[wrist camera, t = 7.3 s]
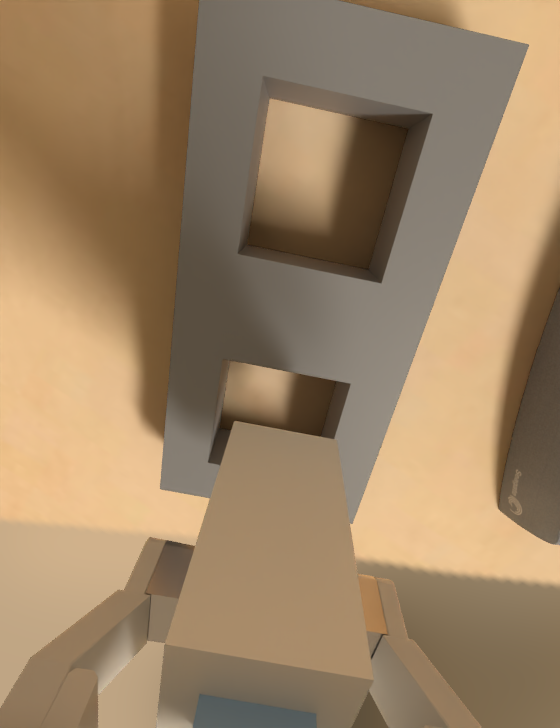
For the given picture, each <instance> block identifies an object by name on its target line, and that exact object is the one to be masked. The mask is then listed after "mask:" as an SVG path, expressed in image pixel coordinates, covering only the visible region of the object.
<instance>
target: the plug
mask: <svg viewBox="0 0 560 728" xmlns="http://www.w3.org/2000/svg"><path fill="white" fill-rule="evenodd" d="M373 681H374V678H373V671H372V665H371V658H370V652H369V645H368V639H367V632H366V626H365V619H364V613H363V606H362V600H361V593H360V587H359V580H358V574H357V567H356V561H355V554H354V548H353V541H352V535H351V528H350V522H349V515H348V508H347V502H346V495H345V489H344V482H343V476H342V469H341V463H340V456H339V450H338V443H337V440H335V439H330V438H324V437H319V436H314V435H308V434H303V433H298V432H292V431H287V430H282V429H276V428H271V427H265V426H260V425H255V424H249V423H244V422H239V421H234V423H233V426H232V430H231V433H230V436H229V439H228V443H227V446H226V449H225V452H224V455H223V459H222V462H221V465H220V468H219V471H218V475H217V478H216V481H215V484H214V487H213V491H212V494H211V497H210V500H209V504H208V507H207V510H206V513H205V516H204V520H203V523H202V526H201V529H200V532H199V536H198V539H197V542H196V545H195V548H194V552H193V555H192V558H191V561H190V565H189V568H188V571H187V574H186V577H185V581H184V584H183V587H182V590H181V593H180V597H179V600H178V603H177V606H176V609H175V613H174V616H173V619H172V622H171V626H170V629H169V632H168V635H167V638H166V642H165V646H164V656H163V665H162V675H161V685H160V694H159V704H158V713H157V723H156V728H351V727H352V725H353V723H354V721H355V719H356V717H357V715H358V712H359V710H360V708H361V706H362V704H363V702H364V700H365V698H366V696H367V693H368V691H369V689H370V687H371V685H372V683H373Z"/></svg>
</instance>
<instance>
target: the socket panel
mask: <svg viewBox="0 0 560 728" xmlns="http://www.w3.org/2000/svg"><path fill="white" fill-rule="evenodd" d="M528 47H529V44H524V43H520V42H516V41H511V40H507V39H503V38H499V37H494V36H490V35H486V34H481V33H477V32H473V31H468V30H464V29H460V28H455V27H451V26H447V25H443V24H438V23H434V22H430V21H425V20H421V19H417V18H412V17H408V16H404V15H399V14H395V13H391V12H386V11H382V10H378V9H374V8H369V7H365V6H361V5H356V4H352V3H348V2H343V1H339V0H199V8H198V21H197V33H196V46H195V58H194V71H193V83H192V96H191V108H190V121H189V133H188V146H187V158H186V171H185V183H184V196H183V208H182V221H181V233H180V246H179V258H178V271H177V283H176V296H175V308H174V321H173V333H172V346H171V358H170V371H169V383H168V396H167V408H166V421H165V433H164V446H163V458H162V471H161V483H160V489H162V490H167V491H173V492H178V493H184V494H190V495H195V496H201V497H206V498H210V497H211V494H212V491H213V487H214V484H215V481H216V478H217V475H218V471H219V468H220V465H221V462H222V459H223V455H224V452H225V449H226V446H227V443H228V439H229V436H230V433H231V430H227V429H221V428H220V422H221V415H222V409H223V402H224V396H225V389H226V382H227V376H228V369H229V362H230V360H231V361H236V362H241V363H247V364H252V365H257V366H262V367H267V368H272V369H277V370H283V371H288V372H293V373H298V374H303V375H308V376H314V377H319V378H324V379H329V380H334V381H336V385H335V388H334V392H333V395H332V399H331V402H330V406H329V409H328V413H327V416H326V420H325V423H324V427H323V430H322V434H321V437H324V438H330V439H335V440H337V443H338V450H339V456H340V463H341V469H342V476H343V482H344V489H345V495H346V502H347V508H348V515H349V522H350V523H351V524H353V521H354V518H355V515H356V513H357V510H358V507H359V505H360V502H361V499H362V496H363V494H364V491H365V488H366V486H367V483H368V480H369V478H370V475H371V472H372V469H373V467H374V464H375V461H376V459H377V456H378V453H379V450H380V448H381V445H382V442H383V440H384V437H385V434H386V431H387V429H388V426H389V423H390V421H391V418H392V415H393V412H394V410H395V407H396V404H397V402H398V399H399V396H400V394H401V391H402V388H403V385H404V383H405V380H406V377H407V375H408V372H409V369H410V366H411V364H412V361H413V358H414V356H415V353H416V350H417V347H418V345H419V342H420V339H421V337H422V334H423V331H424V328H425V326H426V323H427V320H428V318H429V315H430V312H431V310H432V307H433V304H434V301H435V299H436V296H437V293H438V291H439V288H440V285H441V282H442V280H443V277H444V274H445V272H446V269H447V266H448V263H449V261H450V258H451V255H452V253H453V250H454V247H455V244H456V242H457V239H458V236H459V234H460V231H461V228H462V226H463V223H464V220H465V217H466V215H467V212H468V209H469V207H470V204H471V201H472V198H473V196H474V193H475V190H476V188H477V185H478V182H479V179H480V177H481V174H482V171H483V169H484V166H485V163H486V160H487V158H488V155H489V152H490V150H491V147H492V144H493V141H494V139H495V136H496V133H497V131H498V128H499V125H500V123H501V120H502V117H503V114H504V112H505V109H506V106H507V104H508V101H509V98H510V95H511V93H512V90H513V87H514V85H515V82H516V79H517V76H518V74H519V71H520V68H521V66H522V63H523V60H524V57H525V55H526V52H527V49H528ZM269 98H272V99H276V100H281V101H285V102H290V103H294V104H299V105H303V106H308V107H312V108H317V109H322V110H326V111H331V112H335V113H340V114H344V115H349V116H353V117H358V118H362V119H367V120H371V121H376V122H380V123H385V124H389V125H394V126H399V127H403V128H408V132H407V136H406V139H405V143H404V146H403V150H402V153H401V157H400V160H399V164H398V167H397V171H396V174H395V178H394V181H393V185H392V188H391V192H390V195H389V199H388V202H387V206H386V209H385V213H384V216H383V220H382V223H381V227H380V230H379V234H378V237H377V241H376V244H375V248H374V251H373V255H372V258H371V262H370V265H369V269H363V268H358V267H353V266H348V265H343V264H339V263H334V262H329V261H324V260H319V259H314V258H309V257H305V256H300V255H295V254H290V253H285V252H280V251H275V250H271V249H266V248H261V247H256V246H251V245H247V243H248V237H249V230H250V223H251V217H252V210H253V203H254V197H255V190H256V184H257V177H258V170H259V164H260V157H261V150H262V144H263V137H264V131H265V124H266V117H267V111H268V104H269Z"/></svg>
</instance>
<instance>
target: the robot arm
mask: <svg viewBox="0 0 560 728" xmlns="http://www.w3.org/2000/svg"><path fill="white" fill-rule="evenodd" d="M194 548H195V546H192V545H187V544H182V543H178V542H172V541H168V540H162V539H157V538H152V537H149V538H148V540H147V541H146V543H145V545H144V547H143V549H142V552H141V554H140V556H139V558H138V560H137V562H136V565H135V567H134V569H133V571H132V574H131V576H130V578H129V580H128V582H127V585H126V587H125V589H124V590H117V591H116V592H115V593H113V594H112V595H111V596H110V597H109V598H107V599H106V600H104V601H103V602H102V603H101V604H99V605H98V606H97V607H95V608H94V609H93V610H91V611H90V612H89V613H88V614H86V615H85V616H84V617H83V618H81V619H80V620H79V621H77V622H76V623H75V624H74V625H72V626H71V627H70V628H68V629H67V630H66V631H64V632H63V633H62V634H60V635H59V636H58V637H57V638H55V639H54V640H53V641H52V642H50V643H49V644H48V645H46V646H45V647H44V648H43V649H41V650H40V651H39V652H37V653H36V654H35V655H33V656H32V657H31V658H30V659H29V661H28V663H27V664H26V666H25V668H24V669H23V671H22V673H21V674H20V676H19V678H18V680H17V681H16V683H15V685H14V686H13V688H12V689H11V691H10V693H9V695H8V696H7V698H6V700H5V701H4V703H3V705H2V706H1V708H0V728H98V695H99V694H100V693H101V692H102V691H103V690H104V689H105V687H106V686H107V685H108V684H109V683H110V682H111V681H112V680H113V679H114V678H115V677H116V676H117V674H118V673H119V672H120V671H121V670H122V669H123V668H124V667H125V666H126V665H127V664H128V663H129V661H130V660H131V659H132V658H133V657H134V656H135V655H136V654H137V653H138V652H139V651H140V650H141V648H142V647H143V646H144V645H145V644H146V643H147V641H154V642H162V643H165V642H166V638H167V635H168V632H169V629H170V626H171V622H172V619H173V616H174V613H175V609H176V606H177V603H178V600H179V597H180V593H181V590H182V587H183V584H184V581H185V577H186V574H187V571H188V568H189V565H190V561H191V558H192V555H193V552H194ZM358 580H359V587H360V593H361V600H362V606H363V613H364V619H365V626H366V632H367V639H368V645H369V652H370V658H371V665H372V671H373V678H374V681H373V683H372V685H371V687H370V689H369V691H370V693H371V695H372V697H373V699H374V700H375V703H376V704H377V706H378V708H379V710H380V712H381V714H382V716H383V718H384V720H385V721H386V723H387V725H388V727H389V728H482V727H481V726H480V724H479V723H478V722H477V721H476V719H475V718H474V717H473V715H472V714H471V713H470V712H469V711H468V709H467V708H466V707H465V705H464V704H463V703H462V702H461V700H460V699H459V698H458V696H457V695H456V694H455V693H454V691H453V690H452V689H451V687H450V686H449V685H448V684H447V682H446V681H445V680H444V678H443V677H442V676H441V675H440V673H439V672H438V671H437V669H436V668H435V667H434V666H433V664H432V663H431V662H430V661H429V659H428V658H427V657H426V655H425V654H424V653H423V652H422V651H421V649H420V648H419V647H418V645H417V644H416V643H415V641H414V640H410V639H408V636H407V632H406V628H405V625H404V620H403V617H402V612H401V609H400V605H399V601H398V597H397V593H396V589H395V585H394V583H393V581H392V580H389V579H383V578H378V577H373V576H368V575H362V574H358Z"/></svg>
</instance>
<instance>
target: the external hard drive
mask: <svg viewBox="0 0 560 728" xmlns="http://www.w3.org/2000/svg"><path fill="white" fill-rule="evenodd" d="M499 510H500V511H501V512H502V513H504V514H505V515H506V516H507V517H509V518H510V519H511V520H513V521H514V522H515V523H517V524H518V525H520V526H521V527H522V528H524V529H525V530H527V531H529V532H530V533H532V534H533V535H535V536H536V537H538V538H540V539H542V540H544V541H546V542H548V543H550V544H555V545H560V288H559V290H558V293H557V296H556V298H555V301H554V304H553V307H552V309H551V312H550V315H549V318H548V321H547V323H546V326H545V329H544V332H543V335H542V338H541V341H540V344H539V346H538V349H537V352H536V355H535V359H534V362H533V365H532V368H531V371H530V375H529V378H528V381H527V385H526V389H525V392H524V395H523V398H522V401H521V405H520V409H519V412H518V416H517V420H516V424H515V428H514V432H513V434H512V440H511V444H510V449H509V452H508V457H507V461H506V466H505V471H504V476H503V481H502V488H501V493H500V502H499Z"/></svg>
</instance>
